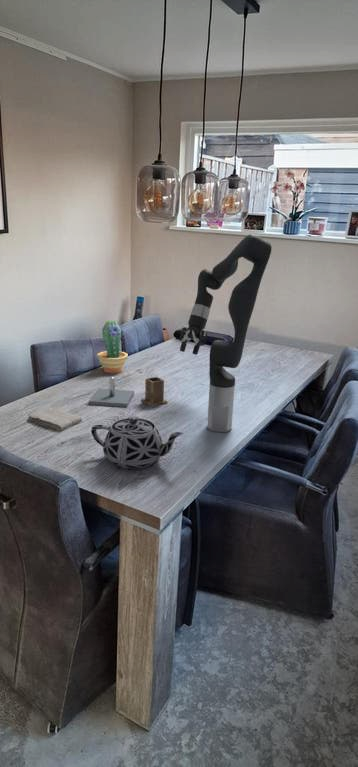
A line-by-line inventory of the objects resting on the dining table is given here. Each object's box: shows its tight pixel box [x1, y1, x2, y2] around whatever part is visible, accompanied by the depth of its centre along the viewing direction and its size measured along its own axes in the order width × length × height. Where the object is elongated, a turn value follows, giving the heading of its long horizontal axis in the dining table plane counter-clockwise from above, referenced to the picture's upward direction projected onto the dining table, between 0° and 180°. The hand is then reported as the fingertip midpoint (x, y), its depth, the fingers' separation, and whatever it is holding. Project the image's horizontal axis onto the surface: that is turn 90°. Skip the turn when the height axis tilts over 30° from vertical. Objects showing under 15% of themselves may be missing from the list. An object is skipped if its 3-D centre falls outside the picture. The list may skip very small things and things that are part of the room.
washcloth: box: [27, 406, 83, 431], centre depth 194 cm, size 12×18×3 cm, turn 58°
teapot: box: [90, 415, 184, 470], centre depth 163 cm, size 19×31×15 cm, turn 75°
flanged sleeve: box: [140, 376, 168, 408], centre depth 215 cm, size 8×8×10 cm
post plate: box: [88, 376, 135, 408], centre depth 216 cm, size 16×16×10 cm
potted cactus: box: [96, 320, 128, 374], centre depth 254 cm, size 15×15×25 cm
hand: (188, 352), depth 219 cm, fingers open, 8 cm apart
